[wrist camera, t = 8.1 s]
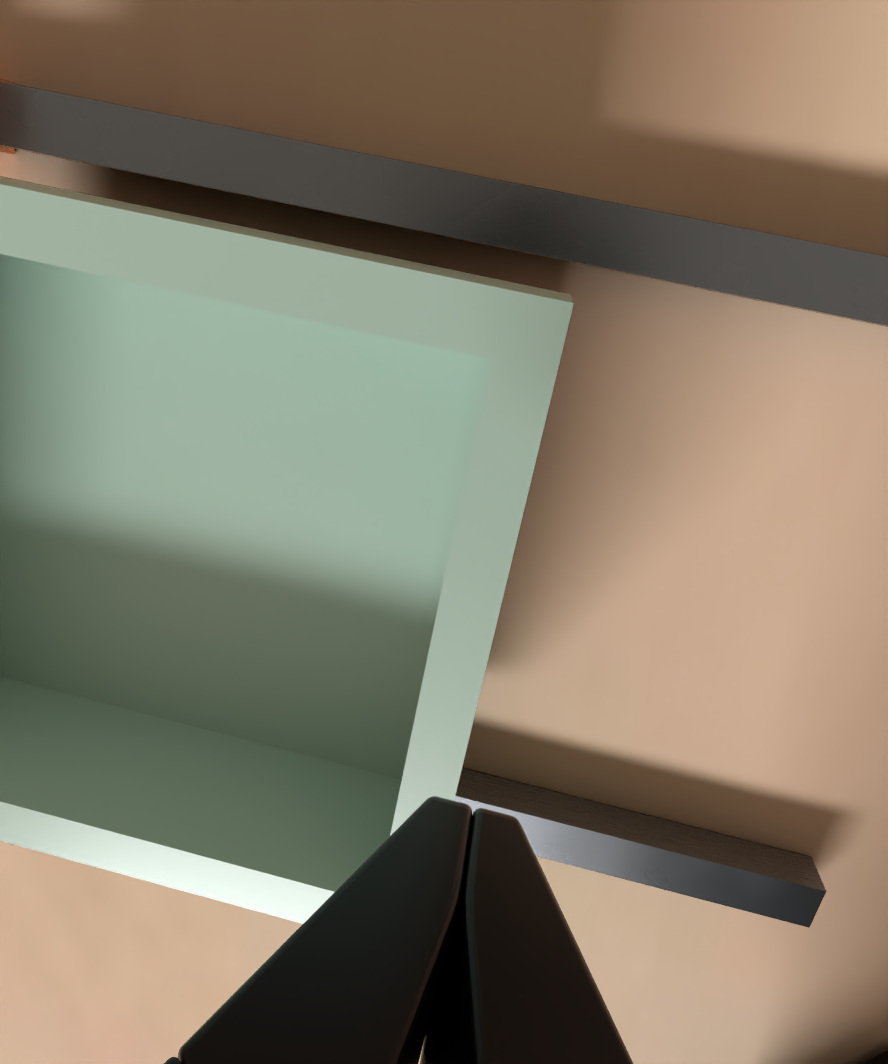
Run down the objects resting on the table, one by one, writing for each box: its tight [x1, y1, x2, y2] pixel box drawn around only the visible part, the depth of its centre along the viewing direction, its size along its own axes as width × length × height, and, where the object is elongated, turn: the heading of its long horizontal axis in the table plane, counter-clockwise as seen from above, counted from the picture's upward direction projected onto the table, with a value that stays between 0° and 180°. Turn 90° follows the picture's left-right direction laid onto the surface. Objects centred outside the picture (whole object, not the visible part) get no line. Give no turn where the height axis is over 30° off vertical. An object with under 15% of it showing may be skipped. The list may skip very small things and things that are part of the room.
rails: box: [0, 79, 888, 927], centre depth 15 cm, size 20×13×2 cm, turn 80°
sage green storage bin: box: [0, 176, 574, 924], centre depth 13 cm, size 10×10×5 cm
